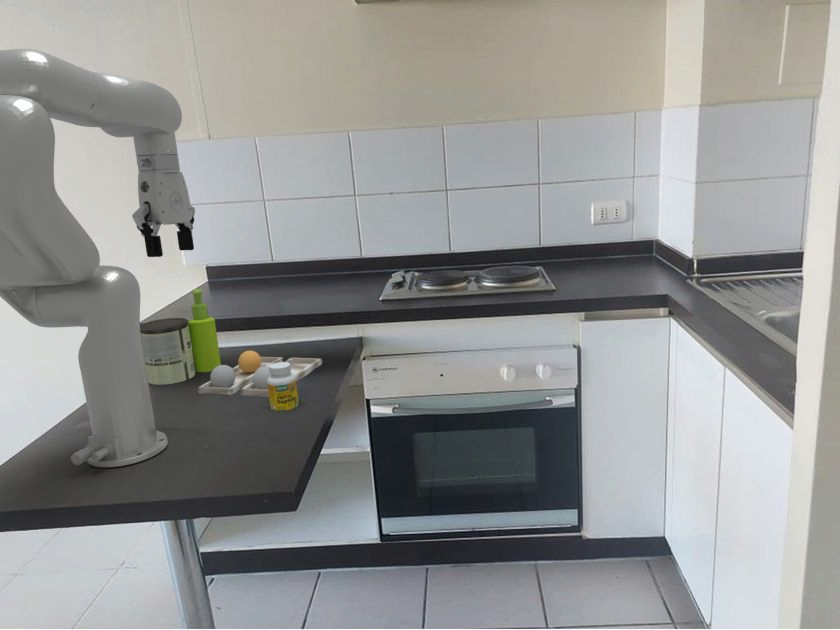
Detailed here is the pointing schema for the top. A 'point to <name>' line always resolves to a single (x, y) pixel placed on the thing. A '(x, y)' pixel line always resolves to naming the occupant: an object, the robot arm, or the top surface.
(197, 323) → the soap dispenser
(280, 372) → the supplement bottle
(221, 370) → the grey ball back
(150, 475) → the top surface
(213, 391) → the trough board
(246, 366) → the orange ball
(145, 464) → the top surface
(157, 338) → the coffee can
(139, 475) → the top surface
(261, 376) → the grey ball front
